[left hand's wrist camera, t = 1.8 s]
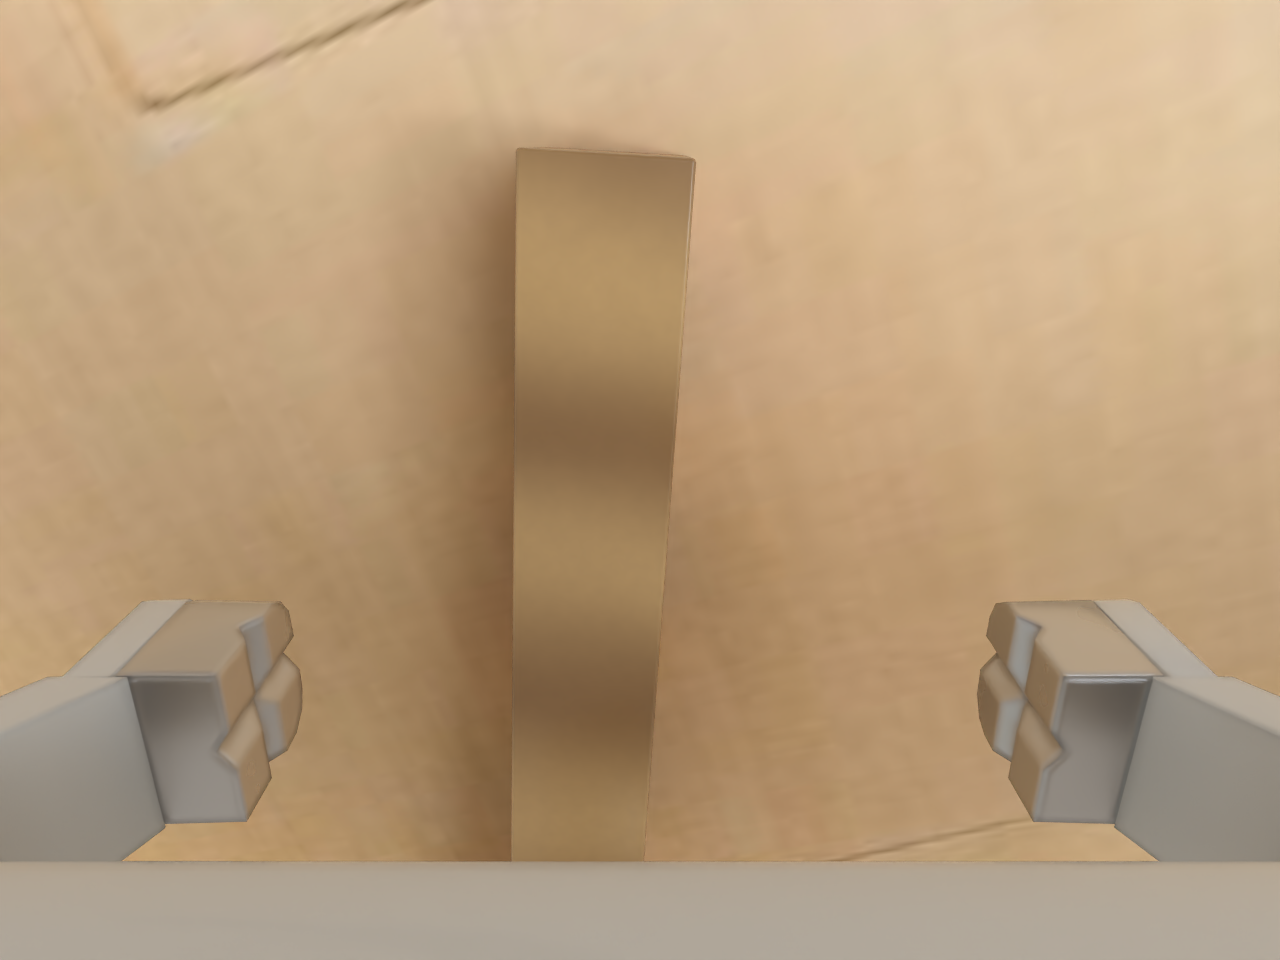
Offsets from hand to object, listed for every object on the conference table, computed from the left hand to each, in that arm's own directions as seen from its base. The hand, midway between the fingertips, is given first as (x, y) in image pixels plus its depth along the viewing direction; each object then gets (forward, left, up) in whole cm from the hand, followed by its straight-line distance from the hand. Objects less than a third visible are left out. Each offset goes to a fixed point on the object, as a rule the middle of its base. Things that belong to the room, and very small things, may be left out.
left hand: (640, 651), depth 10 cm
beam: (-12, +16, -21) cm, 29 cm away
